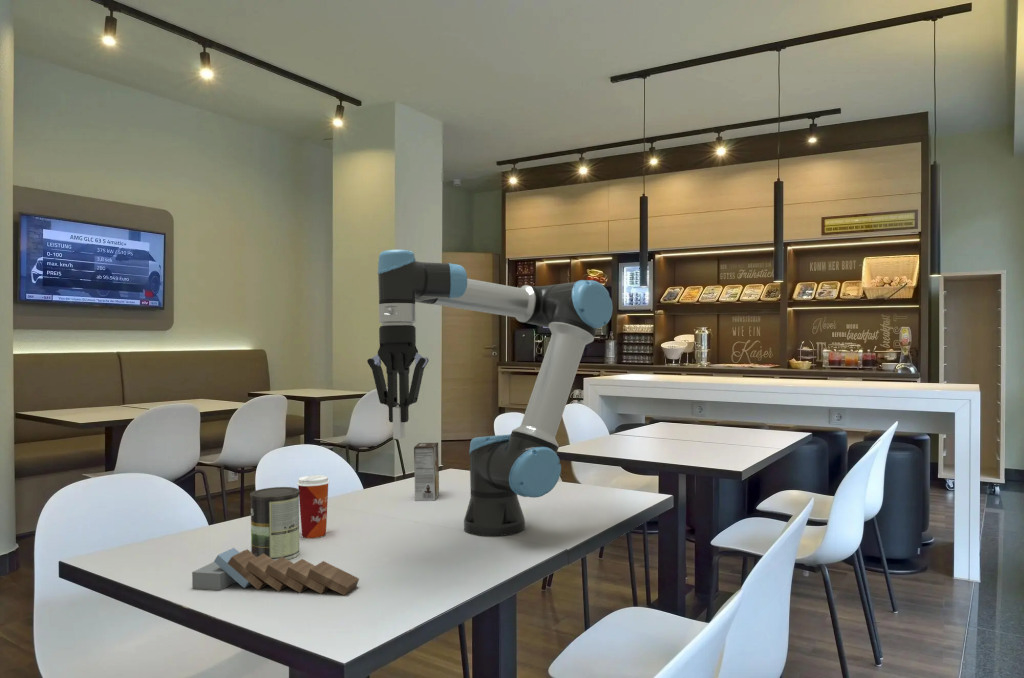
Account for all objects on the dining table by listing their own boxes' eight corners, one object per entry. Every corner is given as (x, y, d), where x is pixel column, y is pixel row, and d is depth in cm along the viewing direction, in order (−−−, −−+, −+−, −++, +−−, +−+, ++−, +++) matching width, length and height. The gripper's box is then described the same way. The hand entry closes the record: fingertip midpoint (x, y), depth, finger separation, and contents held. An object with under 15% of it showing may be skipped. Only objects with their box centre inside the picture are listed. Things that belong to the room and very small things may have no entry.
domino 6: (359, 578, 132) (323, 560, 134) (347, 587, 127) (310, 569, 129) (356, 586, 132) (320, 568, 134) (344, 595, 127) (307, 576, 129)
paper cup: (321, 540, 165) (320, 480, 165) (291, 538, 167) (290, 480, 167) (336, 531, 173) (335, 474, 173) (307, 530, 174) (306, 474, 175)
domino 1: (263, 573, 137) (233, 547, 138) (248, 581, 132) (218, 554, 133) (259, 579, 137) (229, 553, 138) (244, 588, 132) (213, 561, 133)
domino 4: (316, 576, 134) (282, 556, 136) (303, 585, 129) (268, 564, 131) (313, 583, 134) (279, 564, 136) (299, 592, 129) (264, 572, 131)
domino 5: (337, 577, 133) (302, 558, 135) (324, 586, 128) (288, 566, 130) (334, 585, 133) (299, 566, 135) (321, 594, 128) (285, 574, 130)
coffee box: (418, 494, 215) (418, 442, 216) (439, 494, 215) (438, 442, 216) (414, 501, 206) (413, 446, 207) (435, 500, 206) (435, 446, 206)
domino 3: (296, 575, 135) (263, 553, 137) (282, 584, 130) (248, 561, 132) (292, 582, 135) (260, 560, 137) (278, 591, 130) (245, 568, 132)
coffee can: (244, 563, 148) (244, 497, 148) (258, 550, 158) (257, 487, 158) (294, 561, 149) (293, 495, 149) (304, 548, 159) (303, 486, 159)
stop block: (245, 576, 139) (245, 561, 139) (220, 590, 131) (220, 573, 131) (218, 574, 140) (218, 559, 141) (192, 588, 133) (192, 572, 133)
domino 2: (277, 574, 136) (247, 549, 137) (262, 583, 131) (231, 556, 133) (272, 581, 136) (243, 555, 138) (258, 590, 131) (227, 563, 133)
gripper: (360, 325, 143) (362, 440, 143) (420, 323, 140) (422, 441, 140) (375, 326, 150) (377, 435, 150) (433, 324, 148) (434, 436, 147)
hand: (399, 438), depth 145 cm, fingers closed
